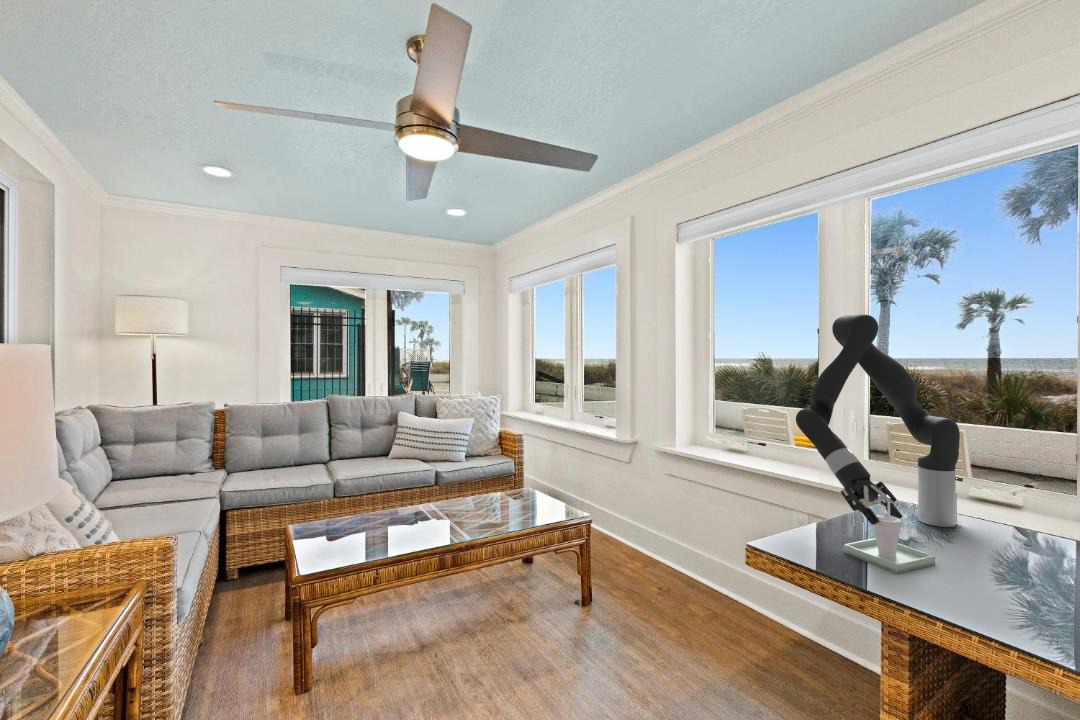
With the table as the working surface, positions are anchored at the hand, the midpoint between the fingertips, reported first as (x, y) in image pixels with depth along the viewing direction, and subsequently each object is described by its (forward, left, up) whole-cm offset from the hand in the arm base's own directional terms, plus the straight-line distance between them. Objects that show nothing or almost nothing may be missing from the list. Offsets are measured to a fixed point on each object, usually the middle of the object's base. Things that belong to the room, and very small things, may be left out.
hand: (887, 521), depth 129 cm
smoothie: (0, 0, -9) cm, 9 cm away
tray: (0, 0, -10) cm, 10 cm away
